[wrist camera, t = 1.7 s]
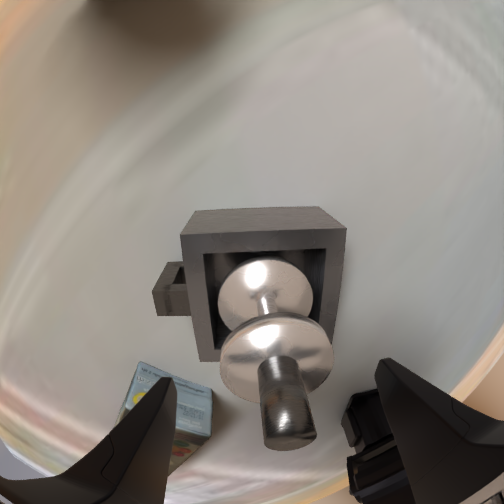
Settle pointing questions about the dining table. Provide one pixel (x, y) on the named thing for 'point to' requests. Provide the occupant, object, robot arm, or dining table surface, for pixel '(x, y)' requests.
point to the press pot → (243, 248)
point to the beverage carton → (187, 415)
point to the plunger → (273, 347)
